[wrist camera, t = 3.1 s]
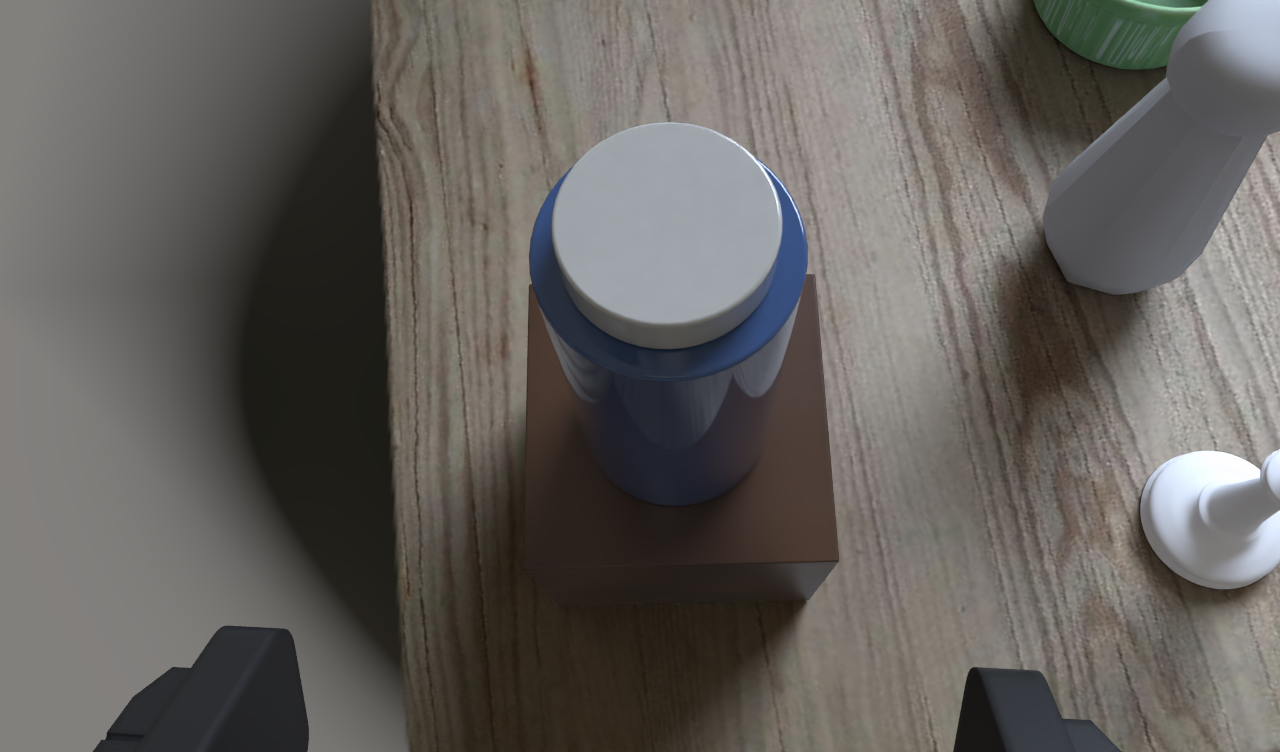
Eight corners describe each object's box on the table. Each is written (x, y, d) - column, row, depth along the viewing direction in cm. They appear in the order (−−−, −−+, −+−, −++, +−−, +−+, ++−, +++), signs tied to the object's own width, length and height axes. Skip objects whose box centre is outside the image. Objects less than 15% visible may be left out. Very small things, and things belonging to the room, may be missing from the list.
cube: (556, 606, 37) (522, 569, 29) (559, 371, 40) (528, 283, 32) (809, 600, 36) (839, 561, 29) (791, 363, 39) (815, 272, 32)
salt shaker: (1087, 157, 42) (1250, -86, 30) (1206, 245, 40) (1430, 25, 28) (995, 249, 41) (1126, 34, 29) (1115, 343, 39) (1307, 158, 27)
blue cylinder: (581, 509, 30) (515, 362, 18) (582, 331, 32) (522, 100, 20) (775, 504, 30) (827, 353, 18) (763, 325, 31) (804, 88, 20)
